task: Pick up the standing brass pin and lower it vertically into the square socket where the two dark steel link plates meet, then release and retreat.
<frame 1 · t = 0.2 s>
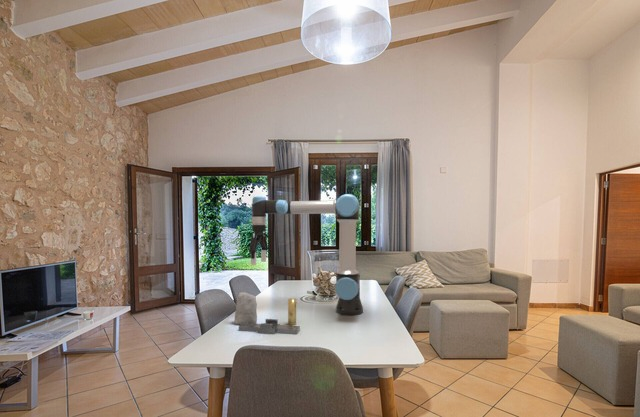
hand: (258, 263, 176), 28 cm above the table, fingers open, 13 cm apart
link pin: (292, 324, 158), on the table
decorative stone: (245, 323, 159), on the table
link plates: (269, 330, 149), on the table
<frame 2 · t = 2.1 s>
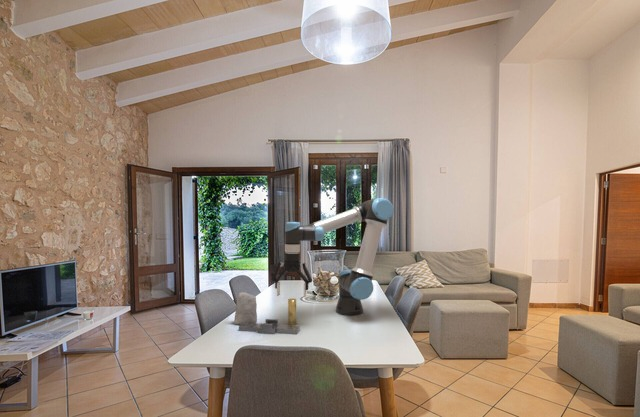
hand: (291, 296, 159), 14 cm above the table, fingers open, 13 cm apart
nothing on the table moved.
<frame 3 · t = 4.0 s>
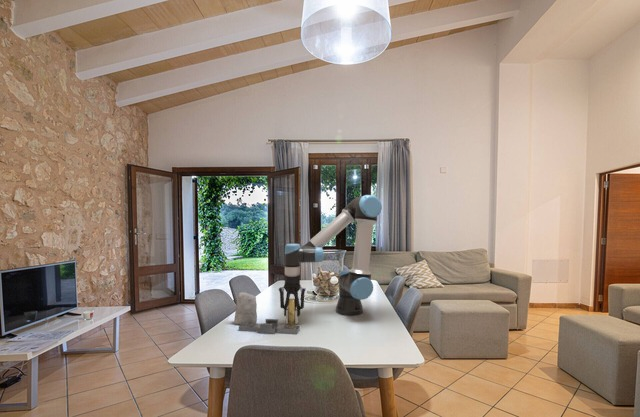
hand: (292, 322, 158), 1 cm above the table, fingers closed on link pin, 4 cm apart
link pin: (292, 324, 158), on the table, touching gripper
everything else where it was.
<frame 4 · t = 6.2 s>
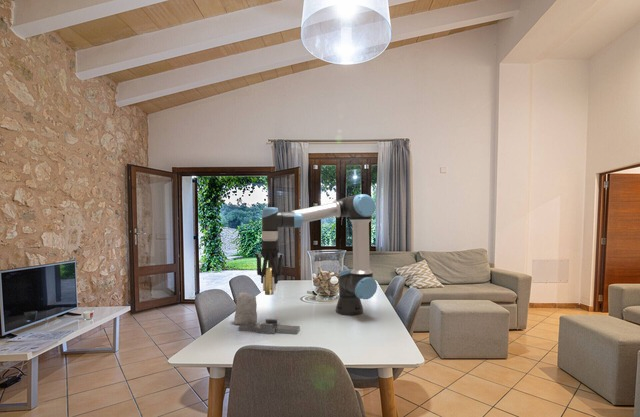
hand: (269, 290, 149), 18 cm above the table, fingers closed on link pin, 4 cm apart
link pin: (269, 294, 149), point 17 cm above the table, touching gripper
everything else where it was.
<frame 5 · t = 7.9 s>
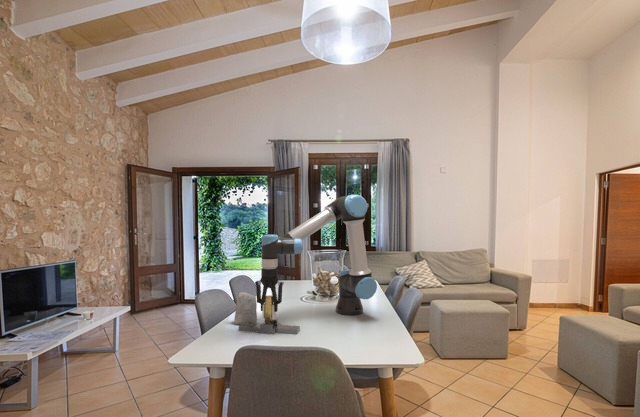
hand: (269, 318, 149), 6 cm above the table, fingers closed on link pin, 4 cm apart
link pin: (269, 322, 149), point 4 cm above the table, touching gripper
everything else where it was.
when the fingers open (3 cm above the table, at t = 8.6 s): link pin stays where it is, resting in link plates.
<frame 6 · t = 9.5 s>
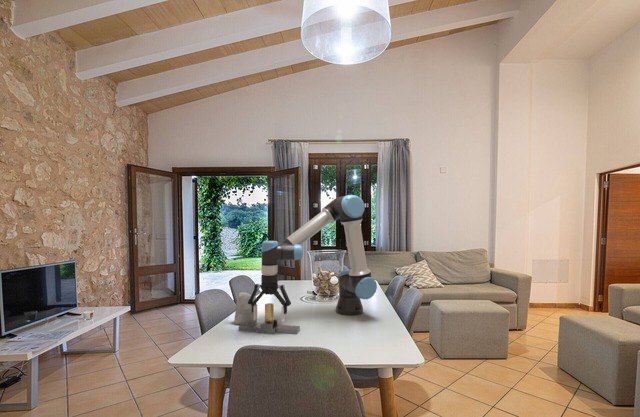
hand: (269, 320, 149), 5 cm above the table, fingers open, 13 cm apart
link pin: (269, 330, 149), resting in link plates
everything else where it was.
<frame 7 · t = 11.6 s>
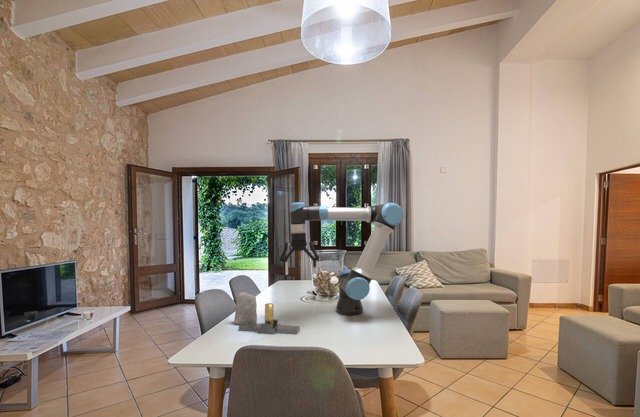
hand: (300, 274, 164), 24 cm above the table, fingers open, 13 cm apart
nothing on the table moved.
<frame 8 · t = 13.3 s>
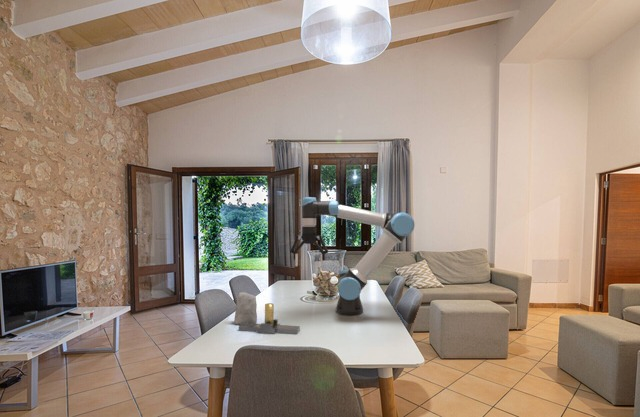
hand: (309, 266, 170), 27 cm above the table, fingers open, 13 cm apart
nothing on the table moved.
at the end: link pin 0.0 cm off-centre on the link plates, point 0.0 cm above the link plates's base; link pin tilted 0°; the gripper is holding nothing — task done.
